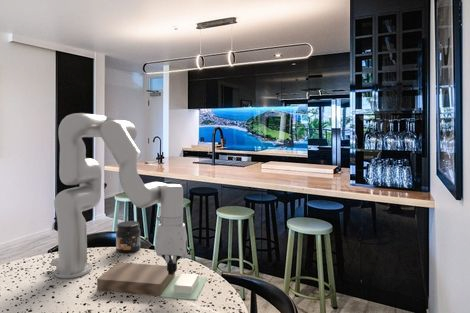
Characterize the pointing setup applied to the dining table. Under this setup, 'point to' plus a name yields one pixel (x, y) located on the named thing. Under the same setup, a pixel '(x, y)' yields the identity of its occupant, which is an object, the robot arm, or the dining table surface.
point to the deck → (135, 279)
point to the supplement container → (128, 237)
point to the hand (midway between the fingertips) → (172, 272)
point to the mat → (171, 294)
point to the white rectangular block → (186, 283)
